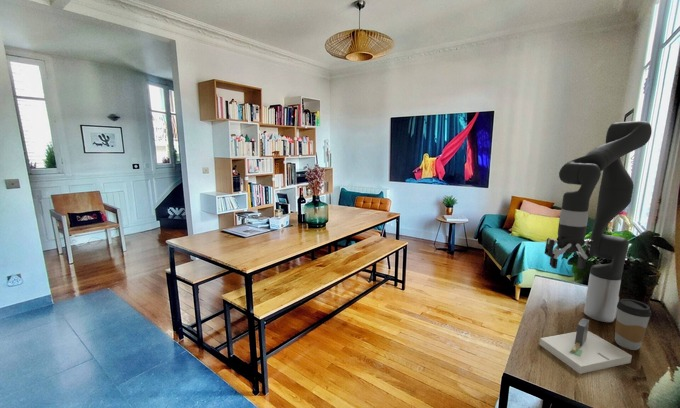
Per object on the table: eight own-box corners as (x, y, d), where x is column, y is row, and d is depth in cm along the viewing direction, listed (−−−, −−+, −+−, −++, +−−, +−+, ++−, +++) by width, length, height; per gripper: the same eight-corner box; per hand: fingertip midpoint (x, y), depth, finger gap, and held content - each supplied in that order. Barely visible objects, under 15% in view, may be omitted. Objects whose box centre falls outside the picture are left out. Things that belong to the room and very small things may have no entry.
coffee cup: (635, 339, 106) (642, 300, 103) (650, 354, 98) (658, 312, 96) (606, 335, 109) (612, 296, 106) (618, 349, 101) (625, 308, 98)
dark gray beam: (586, 339, 102) (589, 320, 101) (577, 353, 95) (580, 333, 94) (579, 336, 104) (582, 317, 102) (570, 350, 97) (573, 330, 95)
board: (585, 336, 108) (586, 329, 108) (630, 362, 95) (632, 355, 94) (539, 344, 104) (540, 337, 103) (579, 373, 90) (581, 365, 90)
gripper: (588, 220, 105) (581, 264, 108) (544, 219, 106) (539, 263, 110) (604, 226, 98) (596, 273, 101) (556, 225, 99) (550, 271, 102)
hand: (566, 268), depth 105 cm, fingers open, 8 cm apart
